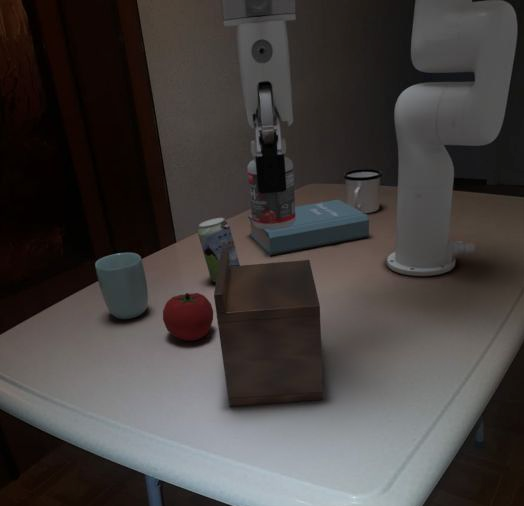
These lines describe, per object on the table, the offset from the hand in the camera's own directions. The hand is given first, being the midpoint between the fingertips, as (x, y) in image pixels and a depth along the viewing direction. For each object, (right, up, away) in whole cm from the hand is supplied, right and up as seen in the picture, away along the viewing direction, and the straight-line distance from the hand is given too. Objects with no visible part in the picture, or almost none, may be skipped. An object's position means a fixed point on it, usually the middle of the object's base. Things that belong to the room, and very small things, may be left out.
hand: (271, 183), depth 66 cm
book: (+9, +6, +61) cm, 62 cm away
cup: (-25, -14, +32) cm, 43 cm away
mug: (+24, +15, +75) cm, 80 cm away
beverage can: (-9, -6, +42) cm, 43 cm away
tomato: (-12, -18, +23) cm, 32 cm away
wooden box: (+1, -23, +11) cm, 25 cm away
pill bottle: (0, -4, +2) cm, 5 cm away
